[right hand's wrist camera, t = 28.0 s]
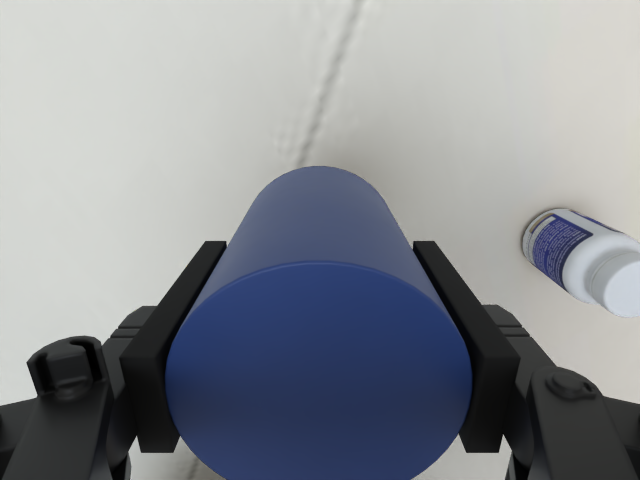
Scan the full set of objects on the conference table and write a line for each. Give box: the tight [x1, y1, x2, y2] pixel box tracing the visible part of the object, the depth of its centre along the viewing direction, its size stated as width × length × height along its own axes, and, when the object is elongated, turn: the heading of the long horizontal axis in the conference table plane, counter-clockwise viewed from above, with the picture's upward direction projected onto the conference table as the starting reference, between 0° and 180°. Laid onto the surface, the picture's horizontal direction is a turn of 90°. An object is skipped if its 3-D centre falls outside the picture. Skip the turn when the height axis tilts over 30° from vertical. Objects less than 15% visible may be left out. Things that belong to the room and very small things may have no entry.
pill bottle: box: [523, 209, 640, 318], centre depth 27 cm, size 5×5×9 cm
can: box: [165, 166, 472, 480], centre depth 13 cm, size 7×7×10 cm
